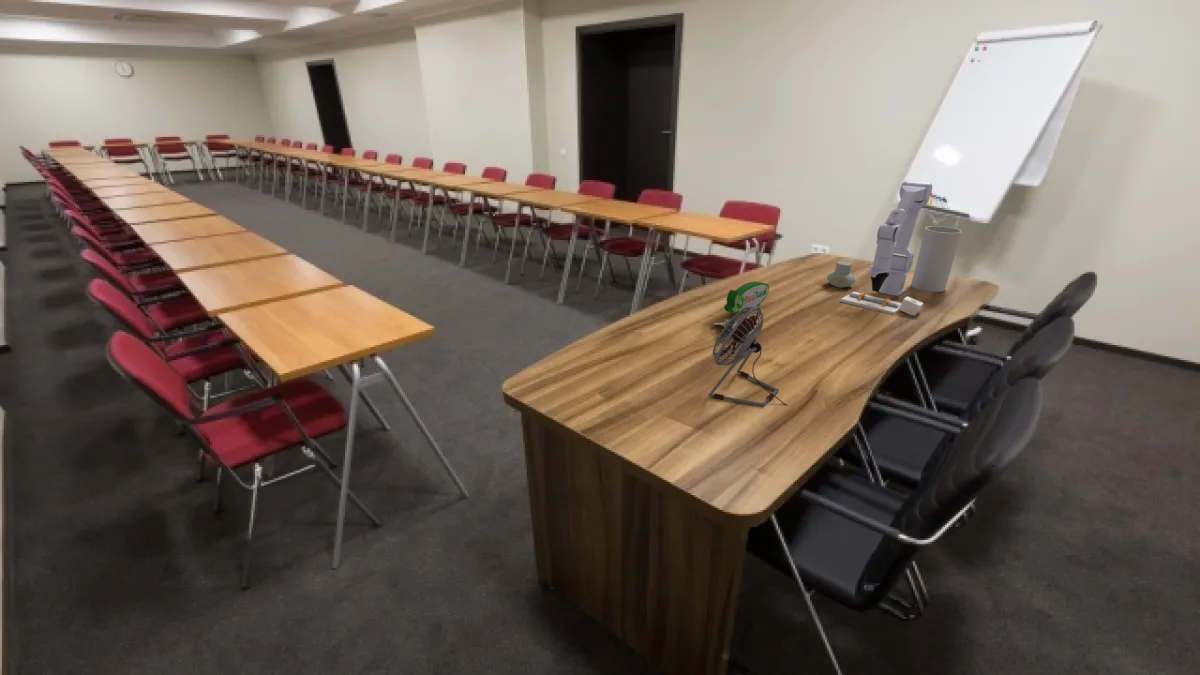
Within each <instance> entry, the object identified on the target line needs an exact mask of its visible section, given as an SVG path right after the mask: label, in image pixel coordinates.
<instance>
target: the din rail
mask: <svg viewBox="0 0 1200 675" xmlns="http://www.w3.org/2000/svg"><path fill="white" fill-rule="evenodd" d="M860 293H861V294H859V295H858V294H854V293H853V292H851V293H849V294H850V295H849V294H848V295H849V296H851V297H855V298H858V299H860V300H862V299H863V300H867V301H871V302H875V303H879V304H882V305H884V306H886V305H887V306H891V307H895V308H898V307H899V304H895V303H891V302H889V301H890V300H891V299H890V298H884V299H885V300H879V299H874V298H870V297H866V296H865V294H866V292H860ZM866 295H867V294H866Z"/></svg>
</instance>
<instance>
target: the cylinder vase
mask: <svg viewBox="0 0 1200 675" xmlns="http://www.w3.org/2000/svg"><path fill="white" fill-rule="evenodd" d="M961 236H962V230H961V229H958V228H955V227H950V226H943V225H942V226H939V225H932V226H931V225H929V226H926V227H925V229H924V232H923V236H922V240H921V244H920V248H919V252H918V256H917V259H916V263H915V264H916V265H915V268H914V273H913V276H912V280H911V283H910V285H911V288H913V289H914V290H917V291H921V292H925V291H926V292H927V293H943V292H944V291H946V288H947V285H948V281H949V278H950V273H951V270H952V268H953V263H954V260H955V256H956V253H957V249H958V247H959V243H960V239H961Z"/></svg>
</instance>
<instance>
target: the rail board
mask: <svg viewBox="0 0 1200 675" xmlns="http://www.w3.org/2000/svg"><path fill="white" fill-rule="evenodd" d="M852 293H854V294H858V295H859V294H861V293H862V292H856V291H853V292H852ZM849 295H850V293H849V294H848V295H845V296H844V297H842V298H840V302H841V303H845V304H849V305H854V306H856V307H857V306H858V307H862V308H866V309H870V310H875V311H876V312H877V311H878V312H881V313H886V314H889V315H895V314H897V313H898V312H900V311H901V310H898V308H899V307H900V305H901V303H902V302H898V301H894V300H891V299H890V301H889V302H891V303H895V304H899V307H898V308H895V307H891V306H887V305H886V306H884V305H882V304H879V303H875V302H871V301H867V300H863V299H862V300H860V299H858V298H855V297H851V296H849ZM865 296H866V297H870V298H874V299H879V300H885V299H886V298H882V297H878V296H874V295H869V294H865Z"/></svg>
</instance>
